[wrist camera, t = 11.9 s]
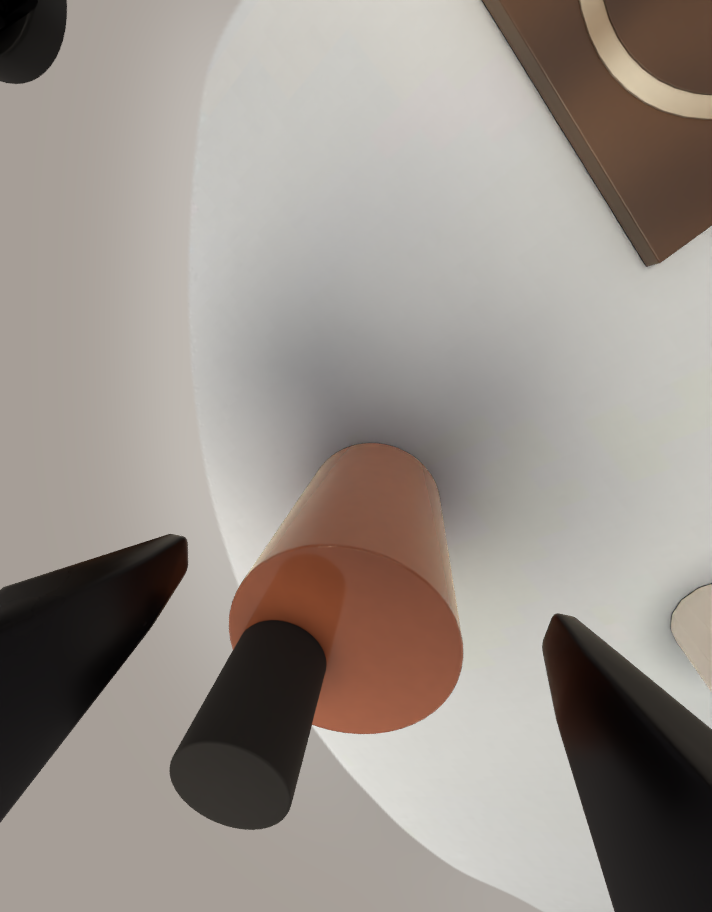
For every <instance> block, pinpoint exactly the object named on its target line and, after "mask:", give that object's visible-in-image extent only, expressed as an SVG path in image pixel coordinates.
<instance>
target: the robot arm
mask: <svg viewBox="0 0 712 912" xmlns="http://www.w3.org/2000/svg"><path fill="white" fill-rule="evenodd" d="M37 3H38V0H0V32H2V31H3V30H5V29H6V28H8V27H9V26H10V25H12V24H13V23H15V22H16V21H18V20H19V19H21V18H22V17H24V16H25V15H26V14H28V13H29V12H31V11H32V10H34V9H35V8H36V6H37ZM187 568H188V542H187V539H186V538H185V537H183V536H179V535H173V534H168V535H165V536H162V537H159V538H156V539H152V540H150V541H146V542H143V543H140V544H137V545H134V546H131V547H127V548H124V549H121V550H118V551H115V552H112V553H109V554H106V555H102V556H100V557H96V558H94V559H90V560H87V561H84V562H81V563H78V564H75V565H71V566H68V567H65V568H62V569H59V570H56V571H53V572H49V573H46V574H43V575H40V576H37V577H34V578H31V579H28V580H25V581H22V582H19V583H15V584H12V585H9V586H6V587H3V588H2V589H1V590H0V822H1V821H2V820H3V818H4V817H5V816H6V814H7V813H8V812H9V811H10V809H11V808H12V807H13V805H14V804H15V803H16V802H17V800H18V799H19V798H20V796H21V795H22V794H23V793H24V791H25V790H26V789H27V787H28V786H29V785H30V783H31V782H32V781H33V780H34V778H35V777H36V776H37V775H38V773H39V772H40V771H41V769H42V768H43V767H44V765H45V764H46V763H47V762H48V760H49V759H50V758H51V756H52V755H53V754H54V752H55V751H56V750H57V749H58V747H59V746H60V745H61V744H62V742H63V741H64V740H65V738H66V737H67V736H68V734H69V733H70V732H71V731H72V729H73V728H74V727H75V725H76V724H77V723H78V722H79V720H80V719H81V718H82V716H83V715H84V714H85V713H86V711H87V710H88V709H89V707H90V706H91V705H92V703H93V702H94V701H95V700H96V698H97V697H98V696H99V694H100V693H101V692H102V691H103V689H104V688H105V687H106V685H107V684H108V683H109V682H110V680H111V679H112V678H113V676H114V675H115V674H116V673H117V671H118V670H119V669H120V667H121V666H122V665H123V663H124V662H125V661H126V660H127V658H128V657H129V656H130V654H131V653H132V652H133V651H134V649H135V648H136V647H137V645H138V644H139V643H140V641H141V640H142V639H143V638H144V636H145V635H146V634H147V632H148V631H149V630H150V628H151V627H152V626H153V624H154V623H155V621H156V620H157V618H158V616H159V615H160V613H161V612H162V610H163V609H164V607H165V605H166V604H167V602H168V601H169V599H170V597H171V596H172V594H173V593H174V591H175V589H176V588H177V586H178V585H179V583H180V582H181V580H182V578H183V577H184V575H185V573H186V571H187ZM542 649H543V656H544V661H545V666H546V671H547V676H548V681H549V686H550V691H551V696H552V701H553V706H554V711H555V715H556V720H557V724H558V727H559V731H560V734H561V737H562V741H563V744H564V747H565V751H566V754H567V757H568V760H569V764H570V767H571V770H572V774H573V777H574V780H575V783H576V787H577V790H578V793H579V797H580V800H581V803H582V806H583V810H584V813H585V816H586V819H587V823H588V826H589V829H590V833H591V836H592V839H593V842H594V846H595V849H596V852H597V856H598V859H599V862H600V865H601V869H602V872H603V875H604V878H605V882H606V885H607V888H608V892H609V895H610V898H611V901H612V905H613V908H614V911H615V912H712V729H711V728H709V727H708V726H707V725H706V724H705V723H703V722H702V721H701V720H700V719H698V718H697V717H696V716H695V715H694V714H692V713H691V712H690V711H689V710H687V709H686V708H685V707H684V706H683V705H681V704H680V703H679V702H678V701H677V700H675V699H674V698H673V697H672V696H670V695H669V694H668V693H667V692H666V691H664V690H663V689H662V688H661V687H659V686H658V685H657V684H656V683H655V682H653V681H652V680H651V679H650V678H648V677H647V676H646V675H645V674H644V673H642V672H641V671H640V670H639V669H638V668H636V667H635V666H634V665H633V664H631V663H630V662H629V661H628V660H627V659H625V658H624V657H623V656H622V655H620V654H619V653H618V652H617V651H616V650H614V649H613V648H612V647H611V646H609V645H608V644H607V643H606V642H605V641H603V640H602V639H601V638H600V637H599V636H597V635H596V634H595V633H594V632H592V631H591V630H590V629H589V628H588V627H586V626H585V625H584V624H583V623H581V622H580V621H579V620H578V619H577V618H575V617H573V616H568V615H563V614H558V613H557V614H554V615H553V617H552V618H551V621H550V624H549V626H548V629H547V632H546V634H545V637H544V640H543V645H542Z"/></svg>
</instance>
